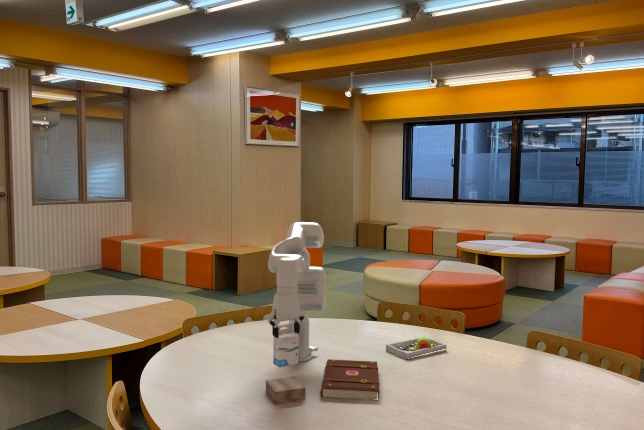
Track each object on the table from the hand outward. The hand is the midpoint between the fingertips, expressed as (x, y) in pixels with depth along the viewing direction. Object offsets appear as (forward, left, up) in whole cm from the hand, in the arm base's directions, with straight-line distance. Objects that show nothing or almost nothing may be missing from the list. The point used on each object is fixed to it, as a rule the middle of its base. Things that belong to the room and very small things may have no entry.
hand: (286, 335), depth 201 cm
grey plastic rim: (-81, -14, -24) cm, 86 cm away
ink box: (0, 0, -11) cm, 11 cm away
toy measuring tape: (-81, -14, -24) cm, 86 cm away
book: (-29, +2, -24) cm, 38 cm away
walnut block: (0, 0, -24) cm, 24 cm away
